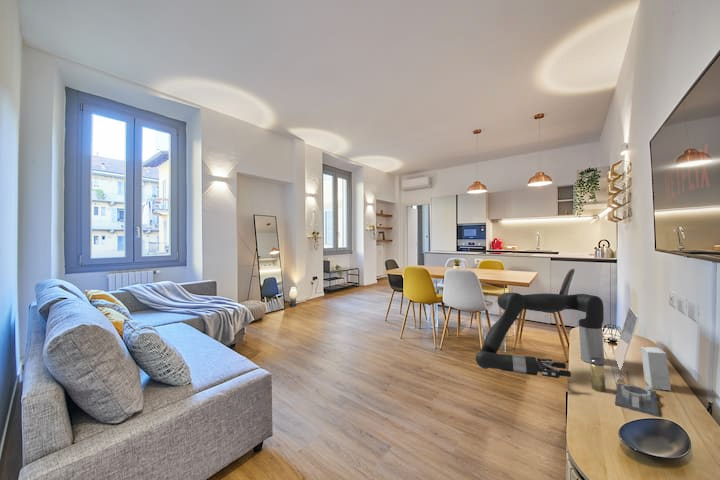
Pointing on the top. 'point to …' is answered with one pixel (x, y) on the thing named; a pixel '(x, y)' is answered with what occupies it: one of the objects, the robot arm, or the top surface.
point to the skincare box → (655, 368)
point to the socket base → (637, 398)
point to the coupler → (597, 374)
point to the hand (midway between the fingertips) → (568, 369)
